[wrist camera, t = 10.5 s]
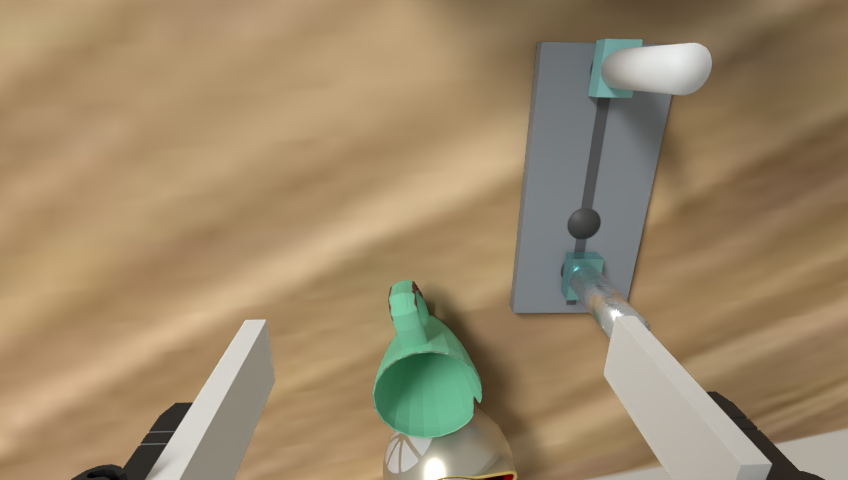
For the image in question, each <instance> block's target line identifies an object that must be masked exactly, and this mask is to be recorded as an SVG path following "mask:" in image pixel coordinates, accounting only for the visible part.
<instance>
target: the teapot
mask: <svg viewBox="0 0 848 480" xmlns="http://www.w3.org/2000/svg"><path fill="white" fill-rule="evenodd" d="M474 403H475V402H474ZM517 476H518V475H517V472H516V470H515V465H514V459H513V455H512V452H511V449H510V446H509V443H508V441H507V439H506V437H505V435H504V434H503V432H502V431H501V429H500V428H499V426H498V425H497V424H496V423H495V422H494V421H493V420H492V419H491V418H490V417H489V416H488V415H487V414H486V413H484V412H483V411H482V410H480V409H478V407H477V405H476V403H475V412H474V416H473V417H472V418H471V420H470V421H469V422H468V423H467V424H466V425H464V426H463V427H461V428H460V429H458V430H457V431H455V432H452V433H449V434H447V435H444V436H441V437H432V438H418V437H411V436H407V435H404V434H402V433H399V432H397V431H394V433H393V434H392V436H391V438H390V441H389V443H388V446H387V449H386V452H385V457H384V463H383V480H516V479H517Z"/></svg>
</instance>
